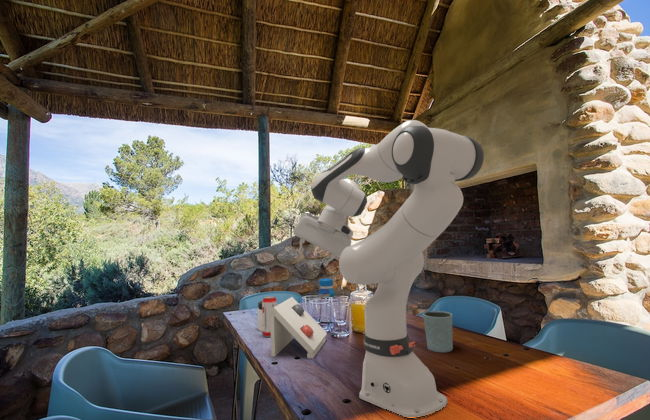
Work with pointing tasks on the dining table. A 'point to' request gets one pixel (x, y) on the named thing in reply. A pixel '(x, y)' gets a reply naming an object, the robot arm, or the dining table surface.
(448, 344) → the grey green cup
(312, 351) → the console
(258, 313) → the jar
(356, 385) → the dining table surface
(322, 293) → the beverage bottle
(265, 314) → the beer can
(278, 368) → the dining table surface
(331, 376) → the dining table surface
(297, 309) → the charcoal button
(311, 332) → the red button
